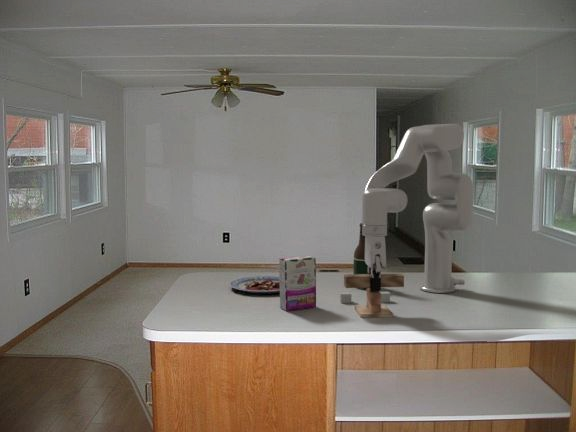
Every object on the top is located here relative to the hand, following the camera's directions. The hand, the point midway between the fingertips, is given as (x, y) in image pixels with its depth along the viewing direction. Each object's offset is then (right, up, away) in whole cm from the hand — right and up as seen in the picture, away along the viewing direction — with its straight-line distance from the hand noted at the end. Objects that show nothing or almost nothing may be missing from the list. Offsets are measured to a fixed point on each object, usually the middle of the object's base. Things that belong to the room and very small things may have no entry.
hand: (373, 288), depth 179 cm
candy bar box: (-24, -7, +7) cm, 26 cm away
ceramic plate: (-35, -5, +35) cm, 50 cm away
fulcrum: (0, -8, +1) cm, 8 cm away
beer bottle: (+2, -4, +37) cm, 37 cm away
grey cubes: (-1, -6, +15) cm, 16 cm away
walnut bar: (0, +1, 0) cm, 1 cm away
